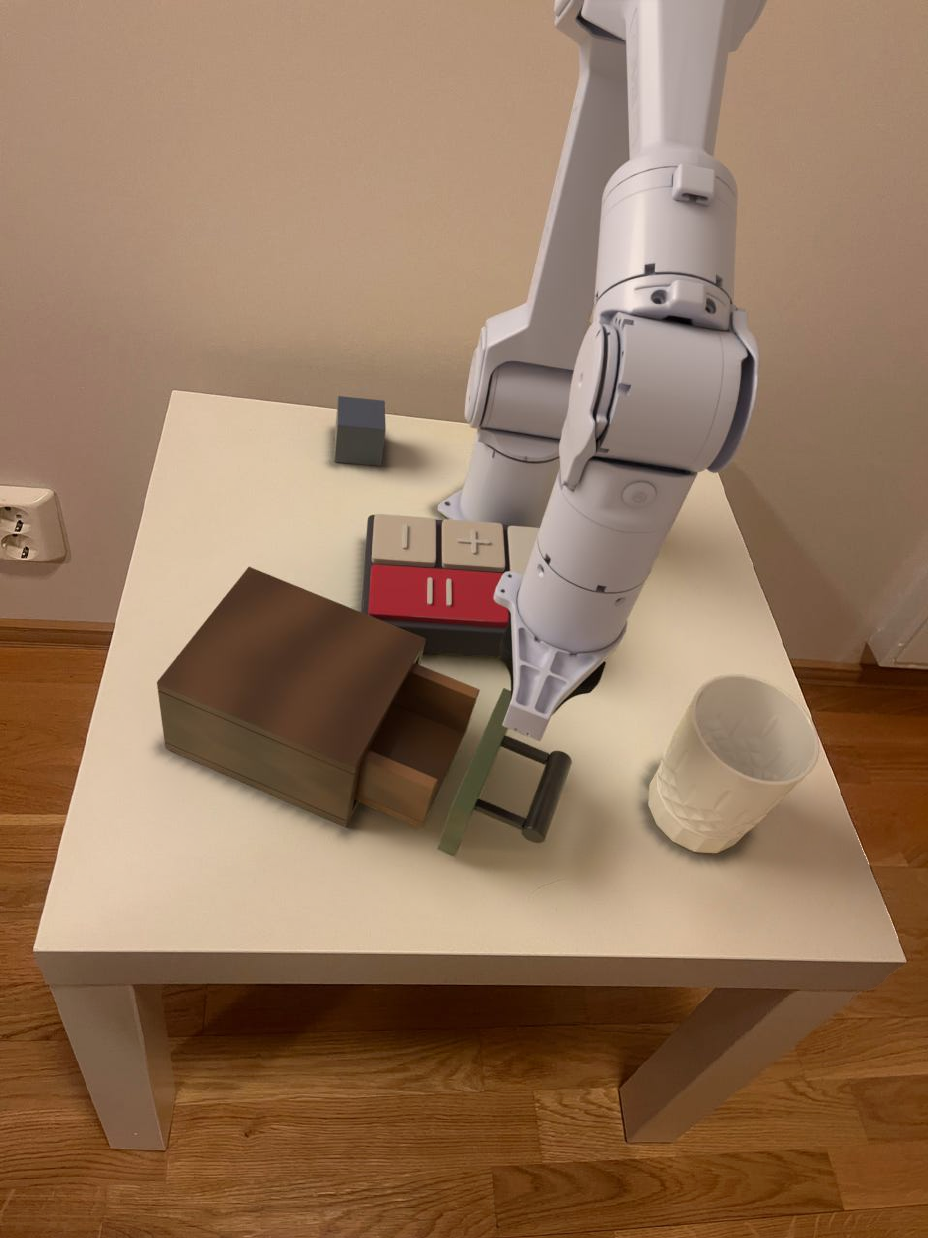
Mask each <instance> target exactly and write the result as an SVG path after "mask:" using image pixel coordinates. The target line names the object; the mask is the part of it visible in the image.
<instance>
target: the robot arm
mask: <svg viewBox="0 0 928 1238" xmlns="http://www.w3.org/2000/svg"><path fill="white" fill-rule="evenodd" d="M767 2H768V0H554V6H553V12H554V14H555V19H554V24H553V25H554V28H555V29H556V30H557V31H559V32H561V33H562V34H564V35H565V36H567V37H568V38H570V39H571V40H572V41H574V42H575V43H576V44H578V60H579V61H578V63H579V66H578V67H579V74H578V75H579V76H578V82H577V85H576V90H575V95H574V98H573V104H572V107H571V112H570V117H569V121H568V125H567V129H566V133H565V137H564V141H563V142H564V143H563V145H562V149H561V153H560V159H559V163H558V167H557V170H556V175H555V180H554V185H553V189H552V193H551V197H550V201H549V206H548V210H547V214H546V219H545V223H544V226H543V230H542V235H541V238H540V239H541V240H540V244H539V248H538V252H537V256H536V261H535V265H534V269H533V274H532V278H531V282H530V285H529V290H528V295H527V299H526V302H524V303H523V304H521V305H518V306H516V307H513V308H510V309H508V310H506V311H503V312H501V313H498V314H495V315H493V316H491V317H489V318H487V319H486V321H485V325H483V326H482V327H481V329H480V333H479V338H478V341H477V347H476V348H475V349H474V352H473V355H472V358H471V359H472V360H471V363H470V369H469V372H468V373H469V374H468V380H467V385H466V394H465V400H464V419H465V420H466V422H467V423H468V425H469V427H470V428H471V429H475V430H476V431H475V436H474V439H473V444H472V449H471V452H470V457H469V462H468V465H467V470H466V475H465V479H464V482H463V483H464V484H463V487H462V488H461V489H460V490H458V491H457V492H455V493H453V494H452V495H450V496H449V497H447V498H446V499H444V500H442V501H441V502H439V503H438V505H437V511H438V512H439V513H440V514H442V515H443V516H444V517H446V519H452V520H465V521H478V522H491V523H500V524H503V525H516V526H529V527H540V529H539V532H538V535H537V538H536V541H535V544H534V547H533V550H532V553H531V556H530V559H529V562H528V565H527V568H526V571H525V574H524V575H521V574H518V573H515V572H511V571H508V572H505V573H504V574H503V575H502V577H501V579H500V581H499V583H498V585H497V587H496V590H495V593H494V600H495V602H496V603H498V604H499V605H501V606H504V607H506V608H508V609H509V611H510V613H511V619H510V621H509V623H508V625H507V627H506V630H505V632H504V634H503V636H502V639H501V642H500V657H499V658H500V660H501V661H502V662H503V664H504V665H505V667H506V668H507V671H508V674H509V678H510V691H511V702H510V705H509V708H508V710H507V713H506V716H505V719H504V721H503V724H502V725H503V726H504V727H506V728H508V730H510V731H513V732H514V733H518V734H520V735H522V736H524V737H528V738H530V739H533V740H536V741H538V742H540V741H541V740H542V739H543V737H544V734H545V731H546V729H547V727H548V725H549V723H550V720H551V718H552V716H553V715H555V713H556V712H557V711H559V709H560V708H561V707H562V706H563V705H564V704H565V703H566V702H568V701H570V700H571V699H573V698H574V697H577V696H580V695H586V694H590V693H592V691H594V690H595V688H596V687H597V686H598V685H599V683H601V682H600V681H601V679H602V677H603V674H604V670H605V668H606V665H607V661H606V660H607V659H608V658H609V657H610V656H611V655H612V654H613V653H615V651H616V650H617V649H618V648H619V646H620V645H621V642H622V641H623V638H624V636H625V634H626V632H627V628H628V619H629V618H630V615H631V613H632V611H633V609H634V608H635V605H636V603H637V601H638V598H639V596H640V594H641V592H642V590H643V588H644V586H645V584H646V581H647V580H648V578H649V575H650V574H651V573H652V569H653V568H654V566H655V564H656V562H657V559H658V558H659V555H660V553H661V552H662V549H663V547H664V545H665V543H666V541H667V538H668V536H669V535H670V532H671V530H672V528H673V526H674V524H675V522H676V520H677V517H678V516H679V513H680V511H681V509H682V507H683V505H684V503H685V501H686V499H687V497H688V495H689V492H690V491H691V488H692V486H693V484H694V482H695V480H696V478H697V476H698V473H701V472H704V471H705V470H707V471H708V472H709V473H712V474H717V473H721V472H722V471H724V470H725V469H726V468H728V466H729V465H730V464H732V463H731V462H733V461H734V459H735V458H736V456H737V454H738V453H739V450H740V448H741V447H742V445H743V442H744V441H745V438H746V436H747V432H748V429H749V427H750V424H751V421H752V417H753V413H754V410H755V404H756V400H757V394H758V389H759V388H758V387H759V374H760V364H761V359H760V350H759V345H758V341H757V339H756V337H755V335H754V334H753V332H751V330H750V329H749V322H748V315H749V314H748V312H747V311H746V309H745V308H742V307H737V305H736V304H734V295H735V268H736V245H737V244H736V242H737V224H738V223H737V222H738V195H739V194H738V193H739V191H738V185H737V182H736V179H735V177H734V175H733V174H732V172H731V171H730V169H729V168H728V167H727V166H726V165H725V164H724V163H723V162H722V161H720V160H719V159H717V158H716V157H714V155H715V149H716V143H717V142H716V141H717V136H718V135H717V134H718V127H719V120H720V114H721V108H722V107H721V106H722V99H723V93H724V88H725V87H724V86H725V79H726V74H727V73H726V72H727V66H728V60H729V59H728V58H729V53H733V52H736V51H738V49H739V48H740V46H741V44H742V43H743V41H744V39H745V37H746V35H747V34H748V33H749V32H750V31H751V30H752V29H753V28H754V26H755V25H756V24H757V22H758V20H759V18H760V16H761V15H762V12H763V11H764V9H765V6H766V4H767ZM592 313H593V314H592ZM591 317H592V322H591V321H590V320H591Z"/></svg>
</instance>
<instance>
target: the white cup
mask: <svg viewBox="0 0 928 1238" xmlns="http://www.w3.org/2000/svg"><path fill="white" fill-rule="evenodd" d="M819 757H820V739H819V735H818V732H817V728H816V726H815V724H814V723H813V720H812V719H811V717H810V716H809V713H808V712H807V711H806V710H805V708H804V707H803V706H802V705H801V704H800V702H798V700H796V699H795V698H794V697H793V696H792V695H791V694H790V693H788V692H787V691H785V690H784V689H782V688H781V687H779V686H777V685H776V684H774V683H772V682H770V681H769V680H766V679H763V678H760V677H757V676H755V675H754V676H753V675H749V674H743V673H725V674H720V675H717V676H715V677H712V678H710V679H708V680H707V681H705V682H704V683H702V684H701V685H700V687H698V689H697V691H696V692H695V693H694V696H693V698H692V699H691V702H690V703H689V705H688V707H687V709H686V711H685V712H684V714H683V716H682V718H681V720H680V721H679V723H678V725H677V727H676V729H675V731H674V733H673V734H672V737H671V739H670V741H669V743H668V745H667V748H666V749H665V751H664V753H663V755H662V758H661V761H660V763H659V766H658V769H657V771H656V772H655V774H654V775H653V778H652V779H651V781H650V783H649V785H648V786H649V787H648V797H647V798H648V801H647V805H648V808H649V811H650V813H651V815H652V818H653V820H654V822H655V824H656V826H657V827H658V828H659V829H660V830H661V832H663V834H664V835H666V836H667V838H668V839H670V840H671V841H672V842H673V843H675V844H677V845H679V846H681V847H683V848H684V849H687V850H689V851H691V852H694V853H705V854H718V853H720V852H723V851H725V850H727V849H729V848H731V847H734V846H735V845H736V844H737V843H738V842H739V841H740V840H741V839H742V838H743V837H744V836H745V835H746V834H747V833H748V832H749V831H750V830H752V829H753V828H755V827H756V826H757V825H758V824H760V822H761V821H762V820H763V819H764V818H765V817H766V816H768V815H769V814H770V813H771V812H773V810H774V809H775V808H776V807H777V806H778V805H779V804H780V803H781V802H782V801H783V800H784V799H785V798H786V797H787V796H788V795H790V793H791V792H792V791H793V790H794V789H795V788H796V787H798V785H800V783H801V782H802V781H803V780H805V778H806V777H808V775H810V773H811V772H812V771H813V770H814V768H815V766H816V764H817V762H818V761H819Z"/></svg>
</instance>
